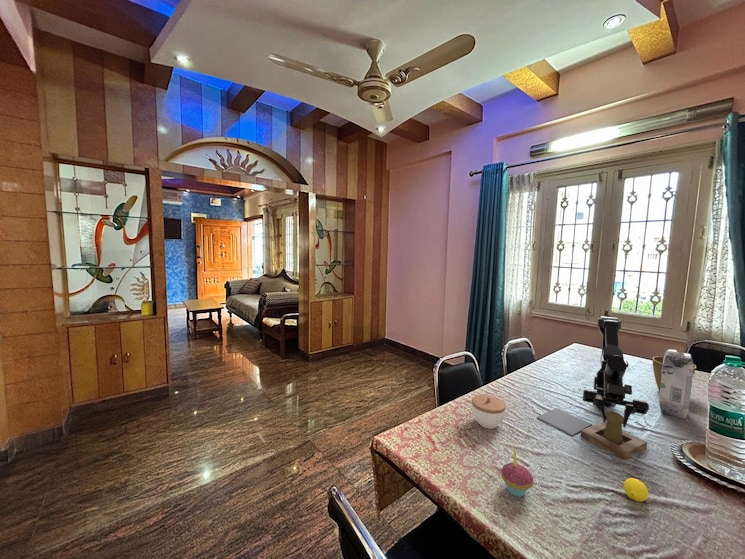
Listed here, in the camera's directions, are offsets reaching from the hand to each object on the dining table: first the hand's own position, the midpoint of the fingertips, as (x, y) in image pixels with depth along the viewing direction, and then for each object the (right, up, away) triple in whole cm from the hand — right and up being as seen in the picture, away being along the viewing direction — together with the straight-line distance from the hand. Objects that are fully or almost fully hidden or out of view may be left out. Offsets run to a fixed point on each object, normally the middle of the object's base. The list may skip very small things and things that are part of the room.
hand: (614, 424), depth 109 cm
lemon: (-12, -10, -22) cm, 28 cm away
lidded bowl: (-40, -6, +14) cm, 43 cm away
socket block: (+1, -7, +2) cm, 8 cm away
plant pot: (+57, -4, +38) cm, 69 cm away
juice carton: (+42, -5, +22) cm, 48 cm away
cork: (+1, -8, +2) cm, 8 cm away
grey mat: (-9, -6, +15) cm, 19 cm away
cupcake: (-44, -10, -20) cm, 49 cm away
